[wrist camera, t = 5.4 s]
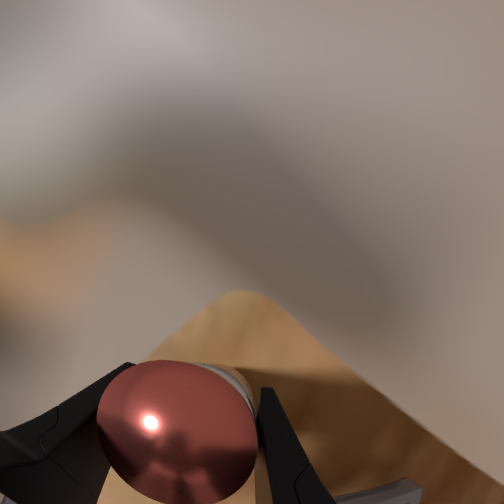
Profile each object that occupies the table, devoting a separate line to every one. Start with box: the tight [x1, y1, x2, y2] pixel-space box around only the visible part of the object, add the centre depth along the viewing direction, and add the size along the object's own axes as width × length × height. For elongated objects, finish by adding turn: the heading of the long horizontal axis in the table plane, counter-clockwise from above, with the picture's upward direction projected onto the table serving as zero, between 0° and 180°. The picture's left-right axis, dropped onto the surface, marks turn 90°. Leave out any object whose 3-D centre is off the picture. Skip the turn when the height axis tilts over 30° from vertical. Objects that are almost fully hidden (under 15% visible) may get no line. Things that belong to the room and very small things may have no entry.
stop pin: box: [97, 360, 258, 504], centre depth 10 cm, size 4×4×10 cm
